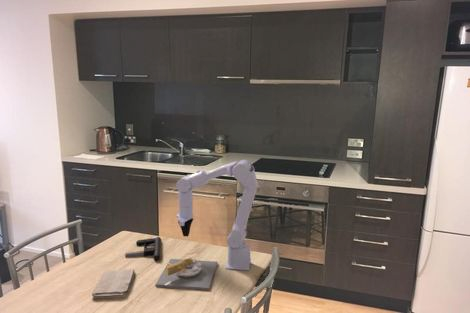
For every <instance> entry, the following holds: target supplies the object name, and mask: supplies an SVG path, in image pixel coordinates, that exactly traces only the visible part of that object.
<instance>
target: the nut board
mask: <svg viewBox="0 0 470 313" xmlns="http://www.w3.org/2000/svg"><path fill="white" fill-rule="evenodd" d="M181 260H184V259H183V258H182V259H180V258H179V259H178V258H170V259H169V261H168V262H167V263H166V266H169V265H172V264H175V263H177V262H179V261H181ZM195 260H196V262H198V263H201V273H200V274H199V275H198V276H196V277H193V278H181V277H179V276H177V275H176V273H174V274H172V275H169V276H168V275H167V274H166V266H165V267H164V269H163V270H162V273H161V274H160V276H159V278H158V279H157V281H156V283H155V288H170V289H181V290H182V289H184V290H185V289H186V290H197V291H210V289H211V286H212V282H213V279H214V276H215V273H216V270H217V267H218V261H215V260H214V261H212V260H211V261H209V260H200V259H199V260H197V259H195Z"/></svg>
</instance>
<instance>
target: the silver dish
mask: <svg viewBox="0 0 470 313" xmlns="http://www.w3.org/2000/svg"><path fill="white" fill-rule="evenodd" d="M196 260H197V259H193V258H191V257H189V258H186V259H183V260H181V261H179V262H177V263H175V264H172V265H169V266H167V265H166V266H165V267H166V274H167V275H168V276H169V275H172V274H174V273H176V275H177V276H179V277H181V278H193V277H196V276H198V275H199V274H200V273H201V263H198V262H196Z"/></svg>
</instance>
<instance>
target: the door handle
mask: <svg viewBox="0 0 470 313" xmlns="http://www.w3.org/2000/svg"><path fill="white" fill-rule="evenodd" d="M135 244H136V246H137V247H140V246H141V247H142V246H143V247H144V248H143V250H137V251H130V252H125V254H124V257H125V258H136V257H153V260H154V261H155V262H158V261H160V259H161V257H162V255H161V253H162V238H161V237H160V236H156V237H154V238H145V239H138V240H137V241H136V243H135ZM151 246H153V247H151ZM147 247H148V248H147Z"/></svg>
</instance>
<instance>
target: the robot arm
mask: <svg viewBox="0 0 470 313" xmlns="http://www.w3.org/2000/svg"><path fill="white" fill-rule="evenodd" d="M255 172H256V171H255V166H253V164H252V162H250V160H248V159H241V160H239V161H238V160H237V161H236V160H235V161H233V162H230V163H226V164H224V165H222V166H219V167H216V168H215V169H211V170H208V171H206V170H200V169H199V170H196V171H195V172H194V173H192V174H187V175H185V176H183V177H181V178H180V179H179V180H177V181H176V184H175V187H176V189H177V191H178V213H177V214H175V217H176V218H178V222H177V223H178V226H179V227H180V229H181V232H182V236H183V237H189V235H190V232H191V231H190V230H191V226H192V224H193V221H194V214H193V208H194V207H193V189H196V188H199V187H202V186H204V185H207V184H209V182H210V180H212V179H215V178H219V177H222V176H229V177H230V178H231V177H233V178H234V179H236V181H238V182H240V184H241V185H242V187H243V193H242V196H241V198H240V199H241V200H240V204H239V207H238V210H237V215H236V217H235V221H234V223H233V226H232V229H231V232H230V234H229V235H228V236H227V238H226V244H227V262H226V265H225V266H226V267H225V269H226V270H240V271H250V267H251V266H250V265H251V260H252V259H251V245H250V244H249V245H248V244H247V243H246V241H245V238H246V237H247V235H248V234H247V226H248V221H249V217H250V214H251V210H252V207H253V203H254V201H255V197H256V194H257V191H258V190H257V189H258V185H259V183H258V179H257V176H256V173H255Z"/></svg>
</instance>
